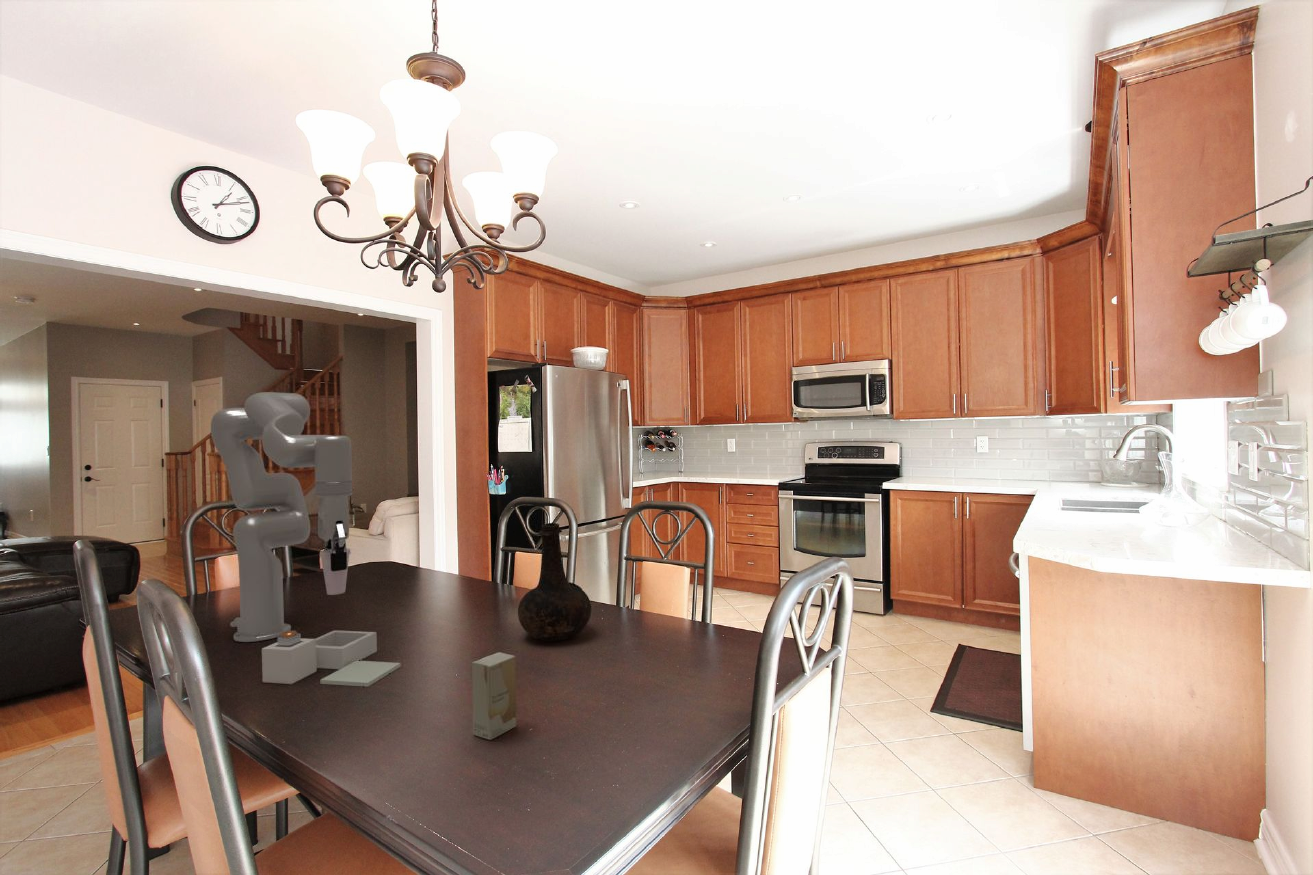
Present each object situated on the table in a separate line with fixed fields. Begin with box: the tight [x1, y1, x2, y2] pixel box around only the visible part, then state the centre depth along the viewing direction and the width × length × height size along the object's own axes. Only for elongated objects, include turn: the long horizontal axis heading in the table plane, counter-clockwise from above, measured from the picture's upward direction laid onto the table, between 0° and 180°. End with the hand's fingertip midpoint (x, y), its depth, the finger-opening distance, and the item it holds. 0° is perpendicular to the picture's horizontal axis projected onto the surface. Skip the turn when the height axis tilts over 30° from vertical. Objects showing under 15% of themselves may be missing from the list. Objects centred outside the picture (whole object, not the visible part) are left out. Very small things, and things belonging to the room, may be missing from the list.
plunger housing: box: [261, 637, 318, 685], centre depth 133 cm, size 7×7×7 cm
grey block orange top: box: [276, 630, 302, 647], centre depth 132 cm, size 3×3×7 cm
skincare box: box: [471, 651, 517, 741], centre depth 106 cm, size 6×4×12 cm
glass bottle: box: [517, 522, 592, 642], centre depth 155 cm, size 18×18×28 cm
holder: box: [315, 630, 378, 670], centre depth 143 cm, size 11×11×4 cm
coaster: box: [319, 660, 402, 688], centre depth 132 cm, size 11×11×1 cm
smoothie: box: [319, 538, 352, 596], centre depth 143 cm, size 6×6×14 cm
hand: (335, 566), depth 143 cm, fingers closed on smoothie, 6 cm apart
